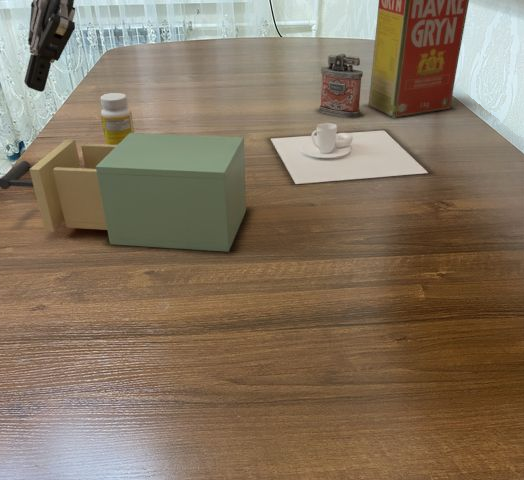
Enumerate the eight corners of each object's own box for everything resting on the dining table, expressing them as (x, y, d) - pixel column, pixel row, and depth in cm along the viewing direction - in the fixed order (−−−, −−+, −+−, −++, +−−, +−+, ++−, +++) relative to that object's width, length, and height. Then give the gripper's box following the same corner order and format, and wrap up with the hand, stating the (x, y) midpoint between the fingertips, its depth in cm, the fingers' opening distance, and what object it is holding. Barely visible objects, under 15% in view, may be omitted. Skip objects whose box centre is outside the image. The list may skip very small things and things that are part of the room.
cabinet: (109, 244, 73) (95, 166, 67) (140, 204, 82) (129, 132, 76) (228, 251, 71) (224, 172, 65) (246, 210, 80) (243, 137, 74)
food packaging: (393, 119, 110) (412, -45, 95) (366, 105, 117) (379, -50, 102) (453, 109, 114) (480, -50, 99) (423, 96, 121) (444, -54, 106)
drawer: (0, 228, 75) (-19, 166, 70) (37, 194, 83) (23, 137, 78) (151, 237, 72) (142, 174, 68) (174, 201, 80) (168, 143, 76)
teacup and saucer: (347, 141, 101) (349, 116, 98) (361, 158, 94) (364, 131, 92) (295, 145, 100) (296, 120, 97) (306, 162, 93) (307, 136, 91)
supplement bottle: (114, 144, 101) (105, 91, 96) (140, 145, 101) (133, 92, 96) (102, 154, 98) (92, 99, 93) (130, 156, 97) (121, 101, 92)
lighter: (315, 111, 114) (318, 54, 108) (325, 107, 116) (327, 50, 110) (354, 118, 111) (358, 59, 104) (362, 114, 113) (367, 55, 107)
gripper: (27, -82, 72) (-6, 66, 79) (51, -77, 63) (11, 90, 70) (88, -50, 77) (51, 87, 83) (119, -41, 68) (75, 112, 74)
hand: (33, 88), depth 77 cm, fingers closed
